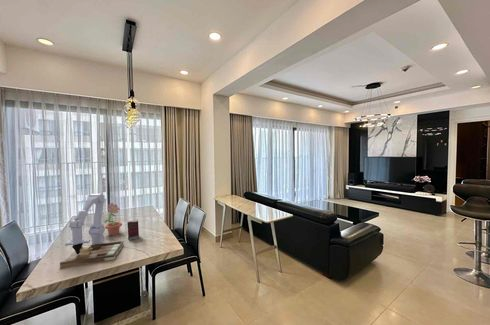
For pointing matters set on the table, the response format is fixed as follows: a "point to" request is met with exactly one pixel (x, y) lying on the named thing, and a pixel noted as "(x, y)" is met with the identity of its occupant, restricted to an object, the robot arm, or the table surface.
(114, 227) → the decorative flower
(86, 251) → the block
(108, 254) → the trap box
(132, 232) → the supplement box
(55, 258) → the table surface
